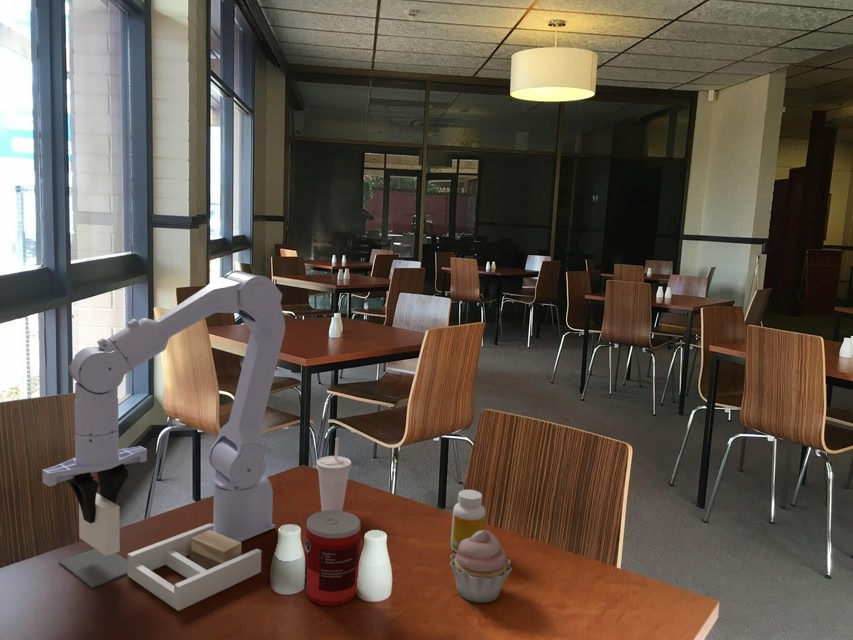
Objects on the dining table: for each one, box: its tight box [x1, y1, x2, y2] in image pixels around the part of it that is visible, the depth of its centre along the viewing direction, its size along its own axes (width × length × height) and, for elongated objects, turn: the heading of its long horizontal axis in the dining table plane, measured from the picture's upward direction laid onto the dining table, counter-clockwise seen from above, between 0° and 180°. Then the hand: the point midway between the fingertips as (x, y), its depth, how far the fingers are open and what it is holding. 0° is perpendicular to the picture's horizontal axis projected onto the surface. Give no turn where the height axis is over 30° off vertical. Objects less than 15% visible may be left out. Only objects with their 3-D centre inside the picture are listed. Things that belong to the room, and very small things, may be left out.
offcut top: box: [191, 530, 242, 563], centre depth 104 cm, size 4×7×2 cm, turn 60°
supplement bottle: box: [450, 489, 486, 554], centre depth 114 cm, size 5×5×10 cm
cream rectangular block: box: [78, 492, 121, 556], centre depth 101 cm, size 2×8×7 cm, turn 52°
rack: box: [127, 522, 262, 612], centre depth 102 cm, size 14×13×4 cm
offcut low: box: [188, 546, 222, 570], centre depth 105 cm, size 4×9×2 cm, turn 51°
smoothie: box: [315, 437, 352, 511], centre depth 125 cm, size 6×6×14 cm
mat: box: [58, 548, 128, 589], centre depth 102 cm, size 7×10×1 cm
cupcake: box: [449, 529, 513, 604], centre depth 101 cm, size 9×9×10 cm
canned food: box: [303, 510, 362, 607], centre depth 99 cm, size 8×8×11 cm
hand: (98, 517), depth 101 cm, fingers closed on cream rectangular block, 2 cm apart
